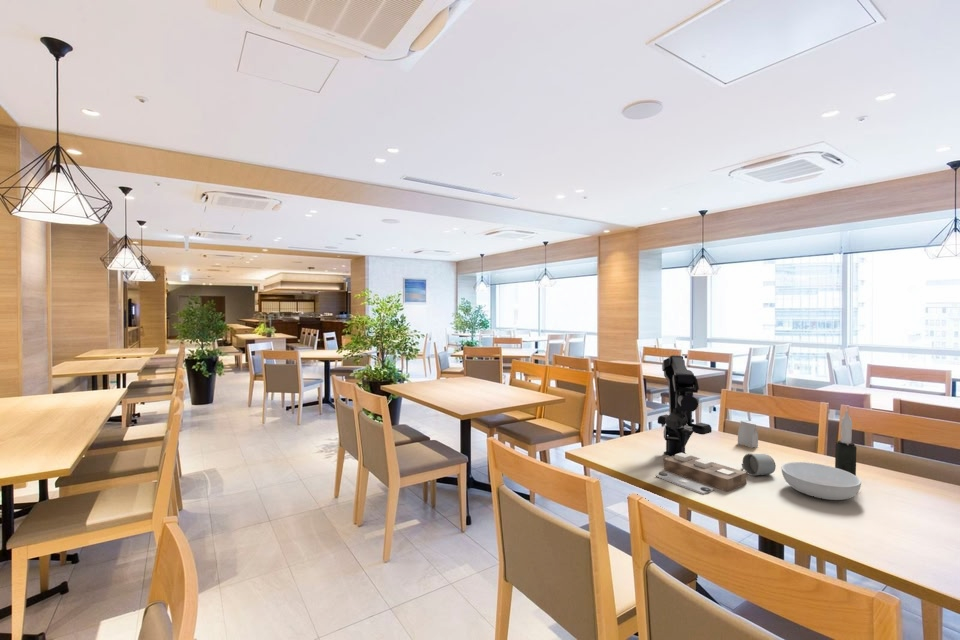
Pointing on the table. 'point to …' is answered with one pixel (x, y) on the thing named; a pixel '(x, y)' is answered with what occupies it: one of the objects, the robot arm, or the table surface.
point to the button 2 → (725, 472)
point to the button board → (706, 473)
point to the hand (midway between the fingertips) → (683, 446)
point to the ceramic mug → (758, 464)
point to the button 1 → (683, 457)
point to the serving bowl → (821, 480)
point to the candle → (846, 447)
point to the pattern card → (684, 482)
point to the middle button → (703, 463)
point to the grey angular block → (748, 434)
